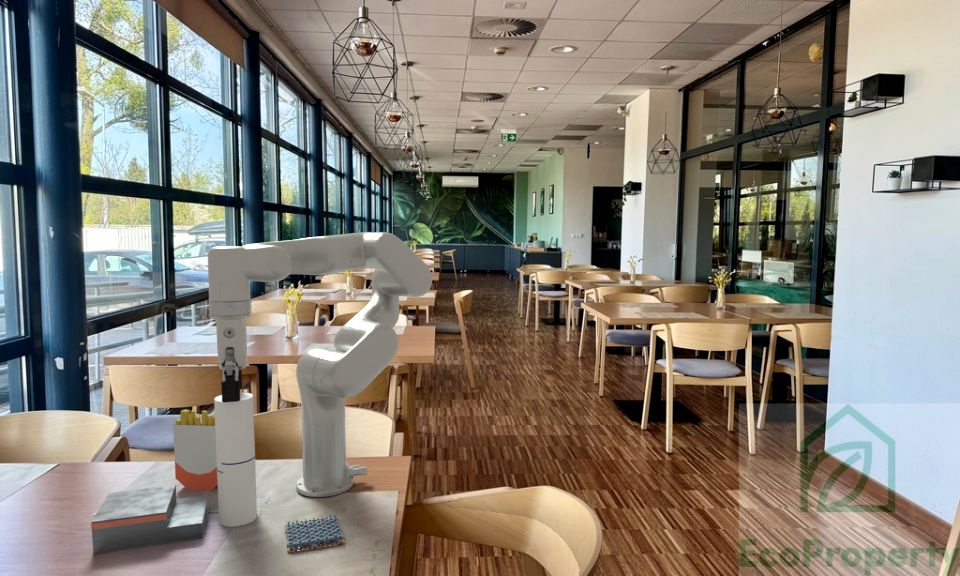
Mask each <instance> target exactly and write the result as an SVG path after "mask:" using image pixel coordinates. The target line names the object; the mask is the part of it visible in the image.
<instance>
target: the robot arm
mask: <svg viewBox="0 0 960 576" xmlns="http://www.w3.org/2000/svg"><path fill="white" fill-rule="evenodd" d="M363 269H373V272H372V276H371V296H370V299H369V301H368V303H367V304H366V305H365V306H364V307H363V308H362V309H361V310H359V312H357V313H356V314H355V315H354V316H353V317H352V318H350V319H349V320H348V321H347V322H346V323H345V324H344V325H342V326H341V328H340V329H338V331H337V332H336V334H335V336H334V341H333V345H334V349H329V348H325V347H315V348H311V349H309V350H307V351H305V352H304V353H303V354H302V355H301V356H300V357H299V359H298V362H297V364H296V368H295V369H296V371H295V375H296V382H297V388H298V391H299V396H300V397H299V398H300V405H301V406H300V407H301V409H300V411H301V444H302V445H301V446H302V449H301V451H302V477H301V478H299V479H297V481H296V484H295V488H296V492H298V493H299V494H301V495H302V496H307V497H311V498H312V497H313V498H325V497H331V496H332V497H333V496H336V495H340V494H343V493H345V492H347V491H349V490H350V489H351V488H352V487H353V485H354V477H358V476H359V477H363V476H368V468H367V466H361V465H360V464H354V465H350V464H348V462H347V455H346V453H347V452H346V451H347V450H346V449H347V448H346V447H347V446H346V405H345V400H344V399H351V398H354V397H355V396H356V395H359V394H361V393H362V391H364V390H365V389H366V388H367V387H368V386H369V385H370V384H371V383H372V382H373V381H374V380H375V379H376V378H377V377H379V374H381V373H382V372H383V371H384V370H385V369H386V368H387V367H388V366H389V365H390V364H391V362H392V361H393V360H394V358H395V356H396V354H397V352H398V351H397V350H398V349H399V337H398V334H397V332H396V331H395V329H394V327H395V326H396V324H397V323H398V320H399V317H400V297H407V298H419V297H422V296H424V295H426V294H427V293H428V292H429V291H430V289H431V287H432V285H433V276H432V275H433V274H432V272H431V270H430V267H429V266H428V265H427V263H425V262H424V260H422V259H421V258H420V256H419V255H418V254H416V253H415V251H413V249H411V248H410V247H409V245H408V244H407V243H405V242H404V241H403V240H402V239H401V238H399V236H396V235H395V234H393V233H390V232H386V231H385V232H384V231H381V232H379V231H377V232H375V231H372V232H371V231H362V232H352V233H342V234H332V235H331V234H330V235H323V236H322V235H321V236H312V237H306V238H305V237H304V238H299V239H292V240H290V239H289V240H281V241H279V240H278V241H268V242H258V243H248V244H244V245H242V246H240V245H239V246H238V245H237V246H236V245H235V246H234V245H221V246H213V247H211V248H209V250H208V251H207V274H208V276H207V277H208V307H209V309H208V310H209V311H208V312H209V318H210V319H213V320H215V321H216V322H215V323H216V326H215V327H216V347H217V348H216V351H217V362H218V367H219V369H220V370H222V375H221V376H222V378H221V379H222V380H221V383H220V384H221V395H222V402H237V401H240V392H241V389H242V388H243V373H242V372H243V370H242V369H245V368H247V364H248V340H247V339H248V338H247V336H248V335H247V334H248V333H247V323H246V322H247V321H246V320H247V318H249V317H251V315H252V311H251V310H252V308H251V283H252V282H262V283H277V282H280V281H282V280H285V279H286V278H287V277H288V276H289V275H305V276H307V275H309V276H321V275H322V276H323V275H324V276H326V275H327V276H328V275H331V274H332V275H333V274H337V273H338V274H339V273H344V272H350V271H357V270H363ZM241 368H242V369H241Z"/></svg>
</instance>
